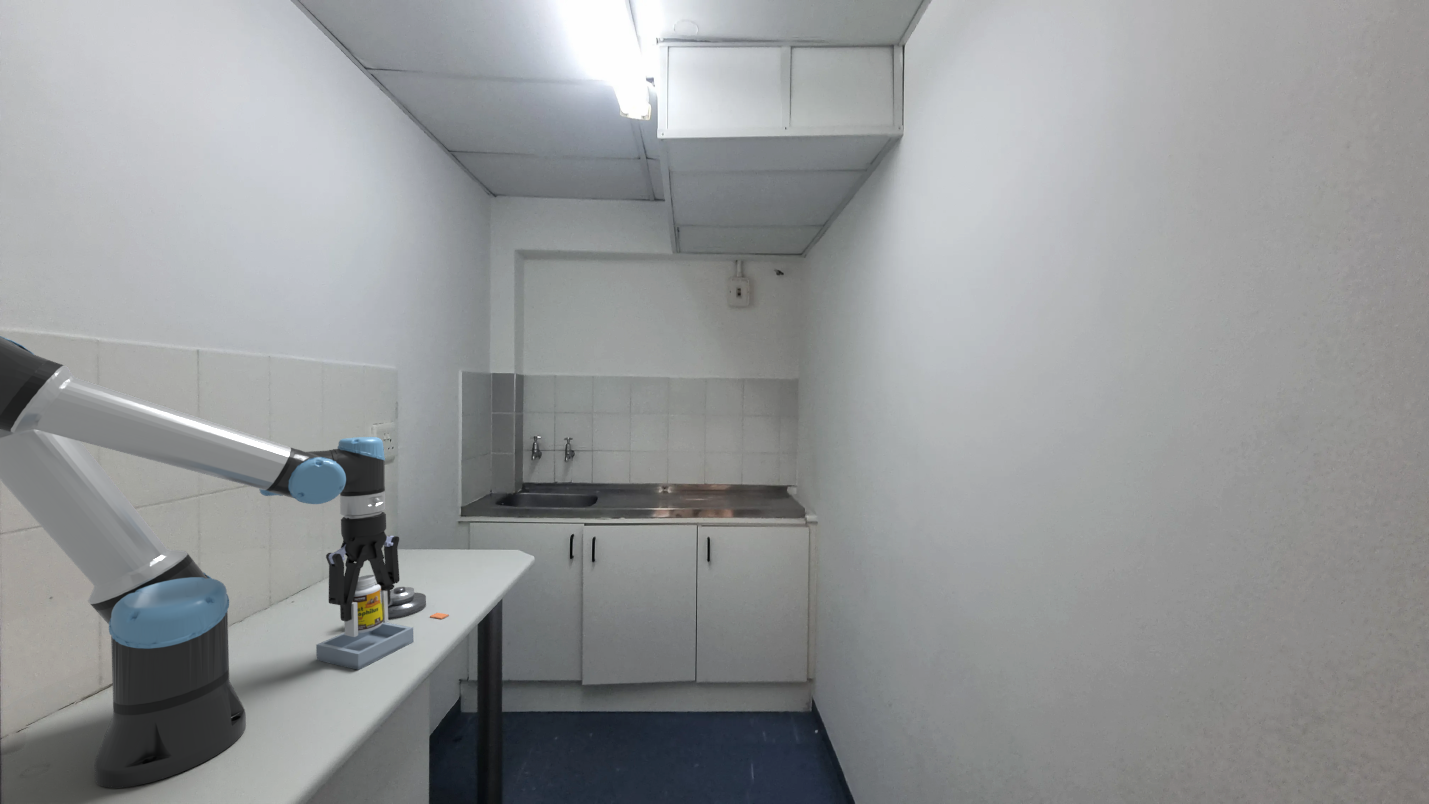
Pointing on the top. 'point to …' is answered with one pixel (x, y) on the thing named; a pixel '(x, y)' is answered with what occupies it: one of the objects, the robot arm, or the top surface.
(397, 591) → the crank
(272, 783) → the top surface
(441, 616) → the orange flat block
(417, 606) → the crank housing
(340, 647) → the tray
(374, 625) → the supplement bottle
